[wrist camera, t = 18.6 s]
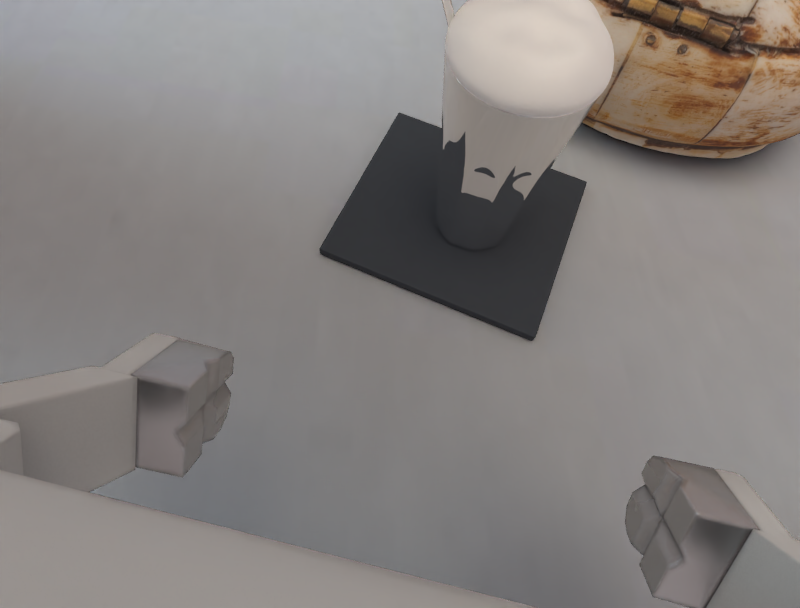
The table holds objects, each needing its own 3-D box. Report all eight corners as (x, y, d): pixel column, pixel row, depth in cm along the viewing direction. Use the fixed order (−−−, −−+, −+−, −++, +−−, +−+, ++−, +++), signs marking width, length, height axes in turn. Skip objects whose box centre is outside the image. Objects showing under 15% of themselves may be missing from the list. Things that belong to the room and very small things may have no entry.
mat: (319, 253, 20) (319, 248, 20) (398, 118, 23) (398, 111, 23) (532, 341, 19) (535, 337, 19) (583, 187, 22) (587, 181, 22)
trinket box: (825, 173, 23) (1027, 16, 16) (515, 190, 22) (587, 25, 15) (720, -13, 29) (837, -193, 22) (465, -10, 27) (501, -202, 20)
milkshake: (421, 154, 22) (461, -112, 13) (538, 195, 21) (665, -52, 12) (382, 235, 20) (395, -8, 11) (508, 282, 20) (633, 67, 10)
